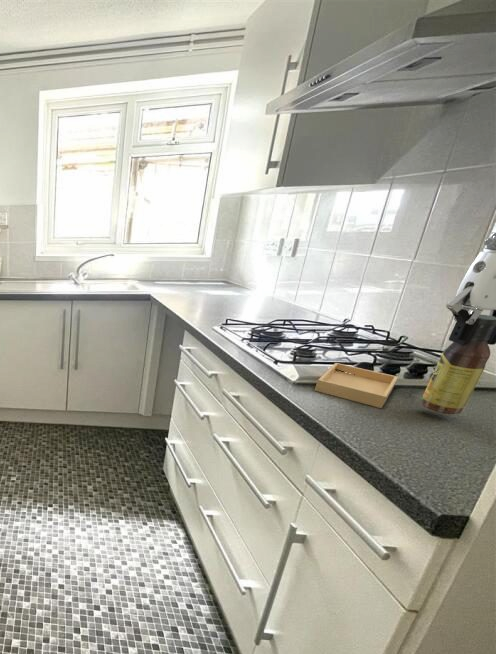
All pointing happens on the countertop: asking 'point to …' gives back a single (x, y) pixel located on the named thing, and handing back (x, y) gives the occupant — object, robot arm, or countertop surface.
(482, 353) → the sauce bottle
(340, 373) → the serving tray
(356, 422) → the countertop surface
